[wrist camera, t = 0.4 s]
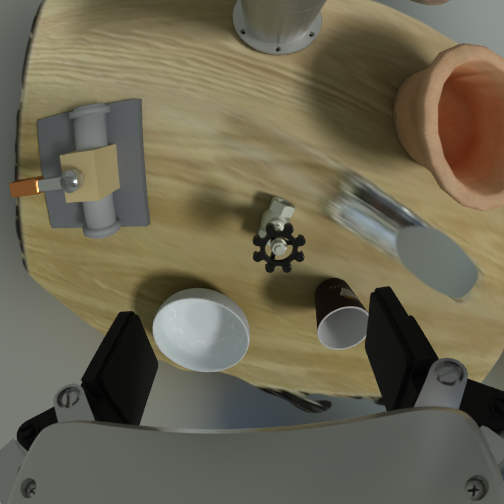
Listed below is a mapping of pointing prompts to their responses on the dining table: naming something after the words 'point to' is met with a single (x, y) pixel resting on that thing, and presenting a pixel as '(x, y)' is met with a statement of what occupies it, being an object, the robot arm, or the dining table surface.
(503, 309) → the dining table surface
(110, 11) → the dining table surface
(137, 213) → the valve board
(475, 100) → the pottery
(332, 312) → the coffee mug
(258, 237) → the valve
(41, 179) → the valve lever
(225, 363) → the cereal bowl
